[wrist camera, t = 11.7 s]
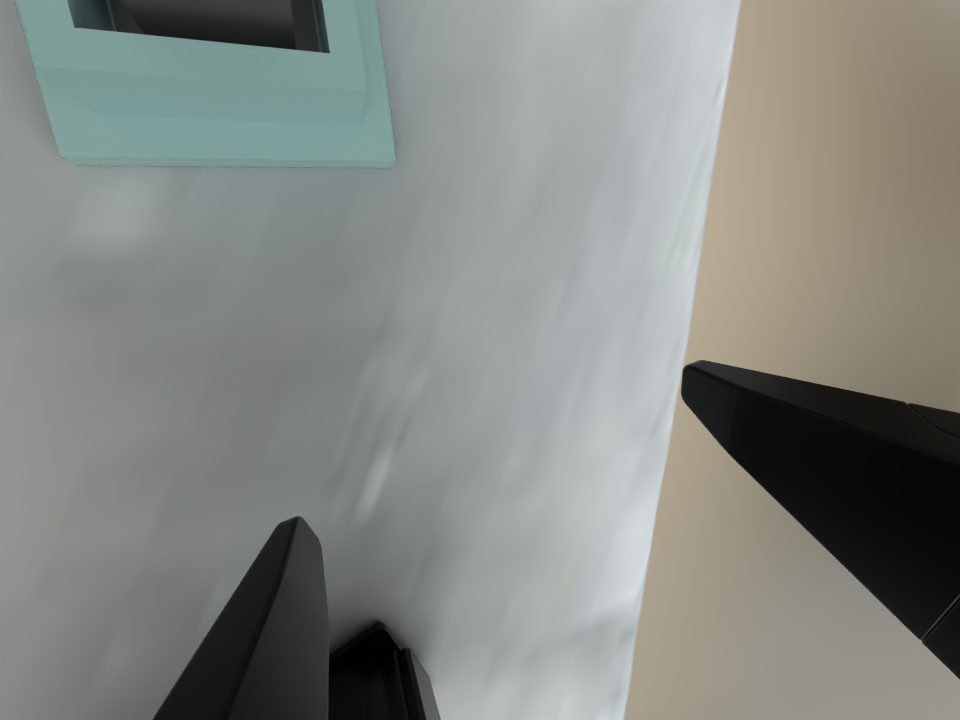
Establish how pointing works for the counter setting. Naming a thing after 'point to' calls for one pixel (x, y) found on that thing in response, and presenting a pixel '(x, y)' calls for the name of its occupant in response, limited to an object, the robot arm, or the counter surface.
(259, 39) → the plug
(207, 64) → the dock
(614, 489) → the counter surface
